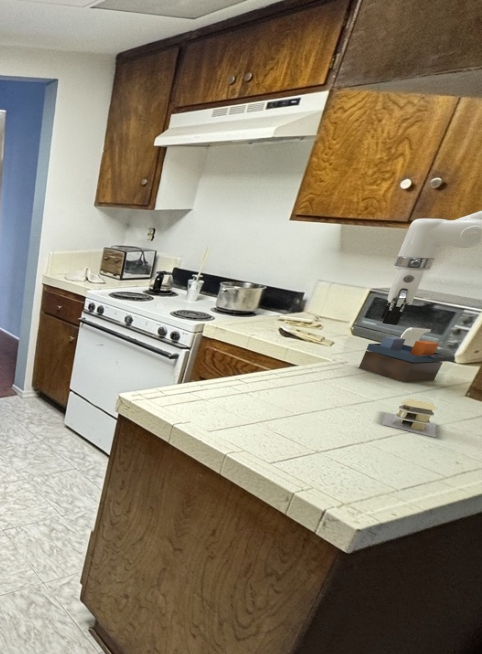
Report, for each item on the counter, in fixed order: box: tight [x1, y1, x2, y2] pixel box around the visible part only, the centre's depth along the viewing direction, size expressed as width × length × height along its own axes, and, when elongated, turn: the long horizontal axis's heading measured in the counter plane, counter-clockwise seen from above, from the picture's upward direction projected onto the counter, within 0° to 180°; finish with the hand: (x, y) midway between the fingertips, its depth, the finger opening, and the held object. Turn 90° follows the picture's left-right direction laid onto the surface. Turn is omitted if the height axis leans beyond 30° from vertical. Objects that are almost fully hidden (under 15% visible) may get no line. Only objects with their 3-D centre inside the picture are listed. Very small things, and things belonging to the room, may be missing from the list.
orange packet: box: [410, 340, 440, 355], centre depth 143 cm, size 3×4×4 cm
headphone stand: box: [399, 326, 432, 347], centre depth 161 cm, size 5×6×12 cm
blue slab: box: [365, 342, 456, 363], centre depth 145 cm, size 17×11×3 cm, turn 9°
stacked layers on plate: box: [381, 398, 437, 438], centre depth 113 cm, size 10×9×6 cm
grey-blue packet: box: [380, 336, 406, 351], centre depth 148 cm, size 3×4×4 cm
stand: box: [358, 350, 444, 383], centre depth 148 cm, size 13×11×6 cm
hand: (388, 321), depth 142 cm, fingers open, 9 cm apart
